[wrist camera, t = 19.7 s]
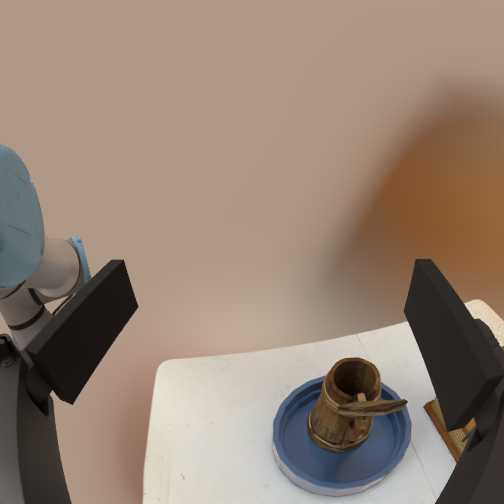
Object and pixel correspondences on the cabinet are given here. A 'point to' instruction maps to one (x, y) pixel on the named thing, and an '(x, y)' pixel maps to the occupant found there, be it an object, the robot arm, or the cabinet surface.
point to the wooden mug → (348, 405)
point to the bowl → (331, 462)
